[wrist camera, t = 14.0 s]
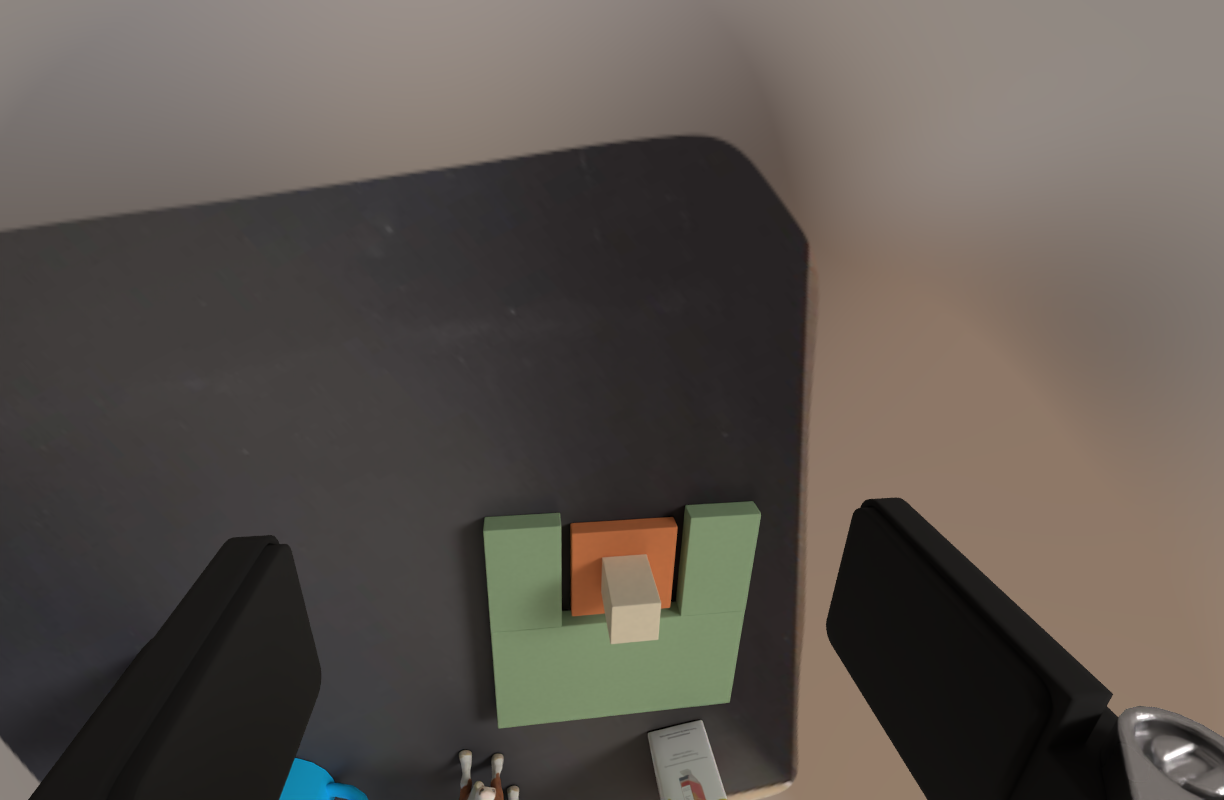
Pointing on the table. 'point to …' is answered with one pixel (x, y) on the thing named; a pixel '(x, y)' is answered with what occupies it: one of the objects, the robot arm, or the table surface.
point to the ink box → (685, 763)
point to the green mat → (580, 646)
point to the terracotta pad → (619, 544)
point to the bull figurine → (482, 796)
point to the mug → (316, 784)
